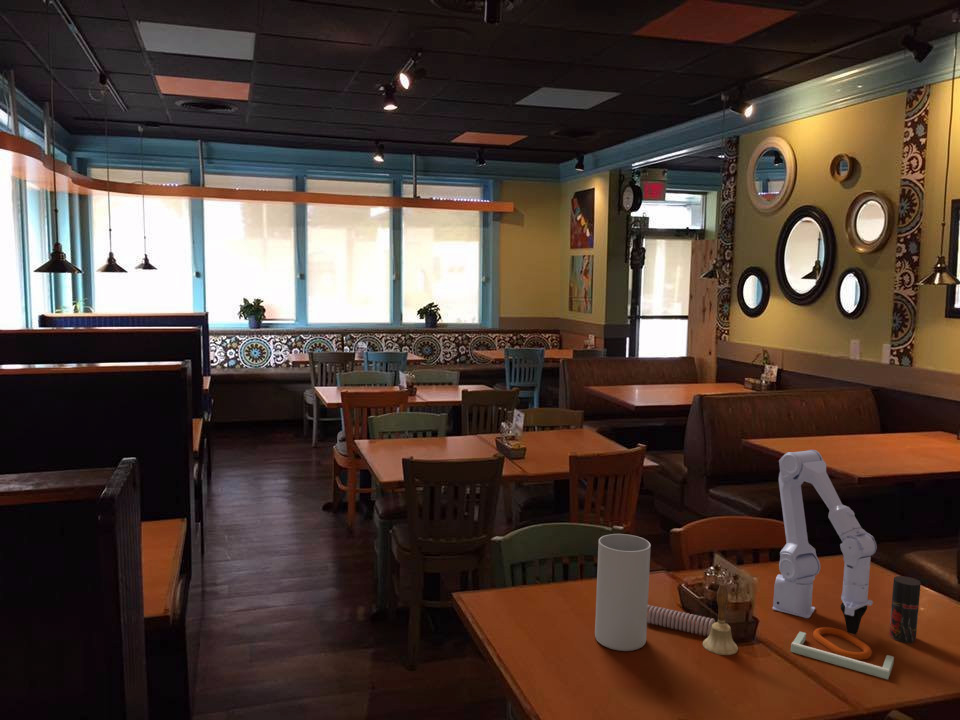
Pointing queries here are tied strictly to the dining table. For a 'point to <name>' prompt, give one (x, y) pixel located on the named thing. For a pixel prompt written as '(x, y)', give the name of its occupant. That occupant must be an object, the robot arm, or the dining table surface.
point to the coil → (670, 621)
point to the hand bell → (721, 629)
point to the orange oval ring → (839, 651)
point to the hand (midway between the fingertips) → (852, 632)
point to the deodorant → (904, 609)
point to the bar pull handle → (841, 658)
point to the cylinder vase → (622, 591)
